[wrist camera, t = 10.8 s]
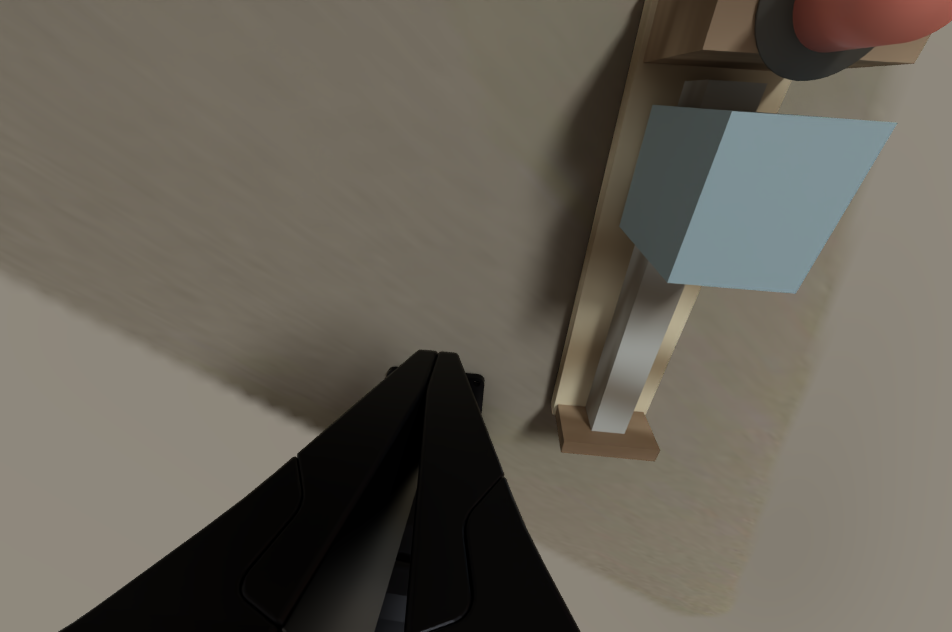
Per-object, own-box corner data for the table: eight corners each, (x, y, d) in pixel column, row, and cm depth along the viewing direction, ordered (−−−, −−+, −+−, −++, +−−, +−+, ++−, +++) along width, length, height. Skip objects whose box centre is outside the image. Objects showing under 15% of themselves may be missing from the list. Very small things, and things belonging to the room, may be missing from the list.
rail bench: (637, 411, 25) (671, 494, 20) (550, 403, 25) (562, 483, 20) (819, -27, 13) (1024, -105, 8) (653, -37, 13) (748, -120, 8)
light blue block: (708, 233, 17) (795, 293, 12) (619, 226, 17) (667, 282, 12) (758, 112, 14) (897, 122, 9) (652, 104, 15) (732, 110, 9)
